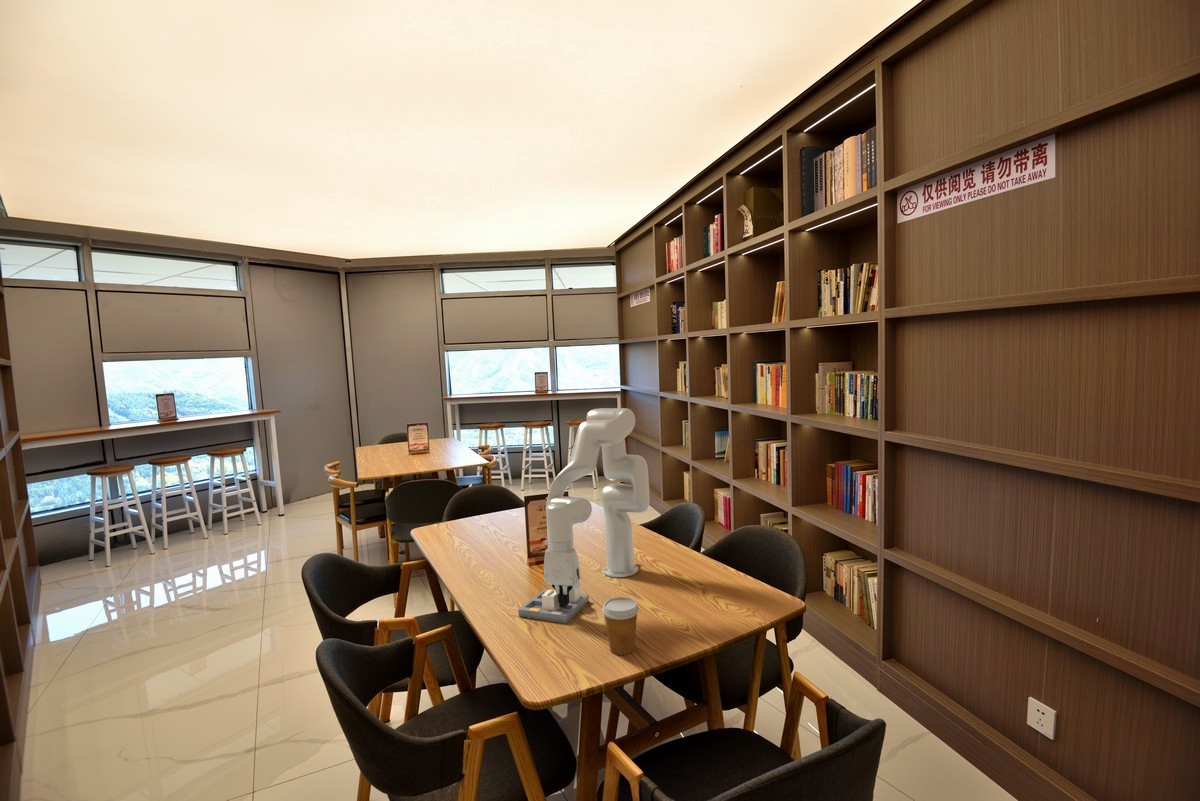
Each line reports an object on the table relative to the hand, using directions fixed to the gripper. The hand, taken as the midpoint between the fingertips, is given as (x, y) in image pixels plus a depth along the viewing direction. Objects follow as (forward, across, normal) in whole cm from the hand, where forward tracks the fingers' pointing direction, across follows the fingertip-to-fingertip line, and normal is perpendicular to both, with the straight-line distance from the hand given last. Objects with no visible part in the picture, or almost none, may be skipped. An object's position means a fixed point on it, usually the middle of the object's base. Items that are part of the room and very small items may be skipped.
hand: (564, 605), depth 164 cm
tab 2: (+2, -1, +7) cm, 7 cm away
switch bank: (+3, -5, +4) cm, 7 cm away
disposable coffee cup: (+3, +23, -14) cm, 27 cm away
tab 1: (+2, -4, 0) cm, 5 cm away
